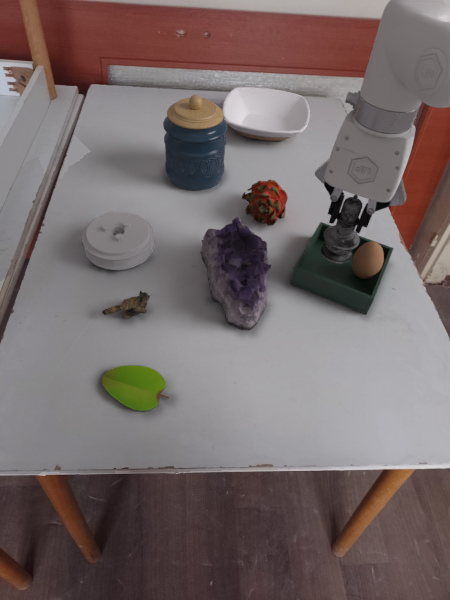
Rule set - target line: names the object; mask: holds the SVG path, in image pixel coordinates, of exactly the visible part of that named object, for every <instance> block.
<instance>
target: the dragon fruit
mask: <svg viewBox="0 0 450 600" xmlns="http://www.w3.org/2000/svg"><path fill="white" fill-rule="evenodd" d="M247 191H250V192H248V193H246V192H243V194H242V195H241V199H243V200H245V201H246V202H248V205H247V206H246V208H245V209H244V211H245V213H246V215H250V216H252V218H253V220H254V222H256V223H263V224H265V225H267V227H268V226H269V227H270V226H274V225H275V224H276V222H277V221H278V219H280V220H281V219H285V216H286V205H287V202H288V194H287V191H286V190H285V189H283V188H282V186H281V185H280V184H279V183H278V182H277V181H276V180H275V179H268V180H267V181H266V180H258V181H257V182H253V183H252V184H251V187H249V188H247Z"/></svg>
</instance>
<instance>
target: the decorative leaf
mask: <svg viewBox="0 0 450 600" xmlns="http://www.w3.org/2000/svg"><path fill="white" fill-rule="evenodd" d="M101 385H102V386H103V388H104V389H105V391H106V392H107V393H108V394H109V395H110V396H112V398H114V399H115V400H116V401H118V402H119V403H120V404H122V405H123V406H125V407H127V408H129V409H132V410H134V411H139V412H143V411H145V412H146V411H149V410H152V409H154V408H157V406H158V405H159V403H160V397H163V398H166V399H170V397H169V396H167V395H163V394H162V393H163V392H164V390H165V389H166V386H167V384H166V380H165V378H164V376H163V375H162V374H161V373H160V372H158V371H157V370H155V369H154V368H151V367H149V366H146V365H145V366H144V365H138V364H137V365H136V364H127V365H119V366H116V367H113V368H110V369H108V371H106V372H105V373H104V374H103V375H102V377H101Z"/></svg>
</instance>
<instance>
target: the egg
mask: <svg viewBox="0 0 450 600" xmlns="http://www.w3.org/2000/svg"><path fill="white" fill-rule="evenodd" d="M376 242H377V241H375V242H367V243H365V244H363V245H362V246H361V247H359V249H358V250H357V251H356V252H355V254H354V256H353V259H352V270H353V272H354V274H355V275H356V276H357V277H358V278H360V279H369V278H372V277H374V276H375V275H376V274H377V273H378V272H379V271H380V269H381V268H382V265H383V261H384V253H383V249H382V247H381V246H380V245H379V244H378V243H379V242H378V243H376Z"/></svg>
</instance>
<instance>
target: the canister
mask: <svg viewBox="0 0 450 600" xmlns="http://www.w3.org/2000/svg"><path fill="white" fill-rule="evenodd" d="M222 109H223V108H221V107H220V106H219V105H217V104H215V103H214V102H213V101H211V100H209V99H207V98H202V97H201V96H200V95H197V94H193V95H191V96H190V97H186V98H182V99H179V100H178V101H176V102H174V103H173V104H171V105H170V106H169V107H168V108H167V111H166V117H165V118H164V120H163V122H162V126H163V130H164V131H165V134H164V137H163V142H164V151H165V154H164V155H165V162H164V169H165V173H166V177H167V179H168V180H169V181H170V182H171V184H173V185H174V186H176V187H178V188H181V189H184V190H189V191H204V190H208V189H211V188H213V187H215V186H217V185H218V184H219V183H220V182H221V181H222V179H223V176H224V173H225V152H226V151H225V150H226V145H227V138H226V136H225V134H226V132H227V130H228V124H227V123H226V121H225V120H224V118H223V117H224V113H223V111H222Z"/></svg>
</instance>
